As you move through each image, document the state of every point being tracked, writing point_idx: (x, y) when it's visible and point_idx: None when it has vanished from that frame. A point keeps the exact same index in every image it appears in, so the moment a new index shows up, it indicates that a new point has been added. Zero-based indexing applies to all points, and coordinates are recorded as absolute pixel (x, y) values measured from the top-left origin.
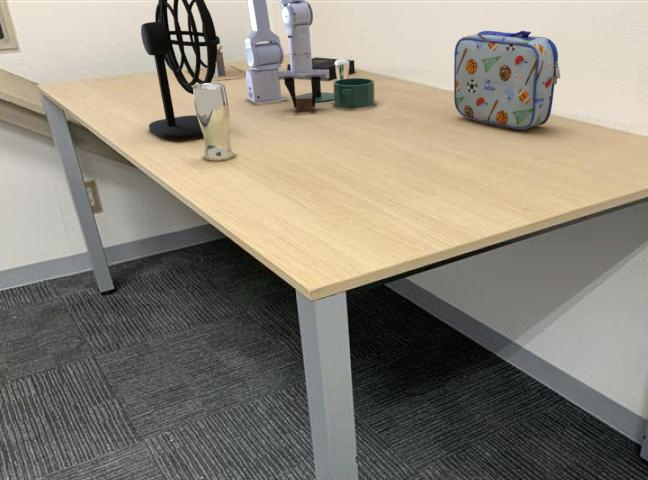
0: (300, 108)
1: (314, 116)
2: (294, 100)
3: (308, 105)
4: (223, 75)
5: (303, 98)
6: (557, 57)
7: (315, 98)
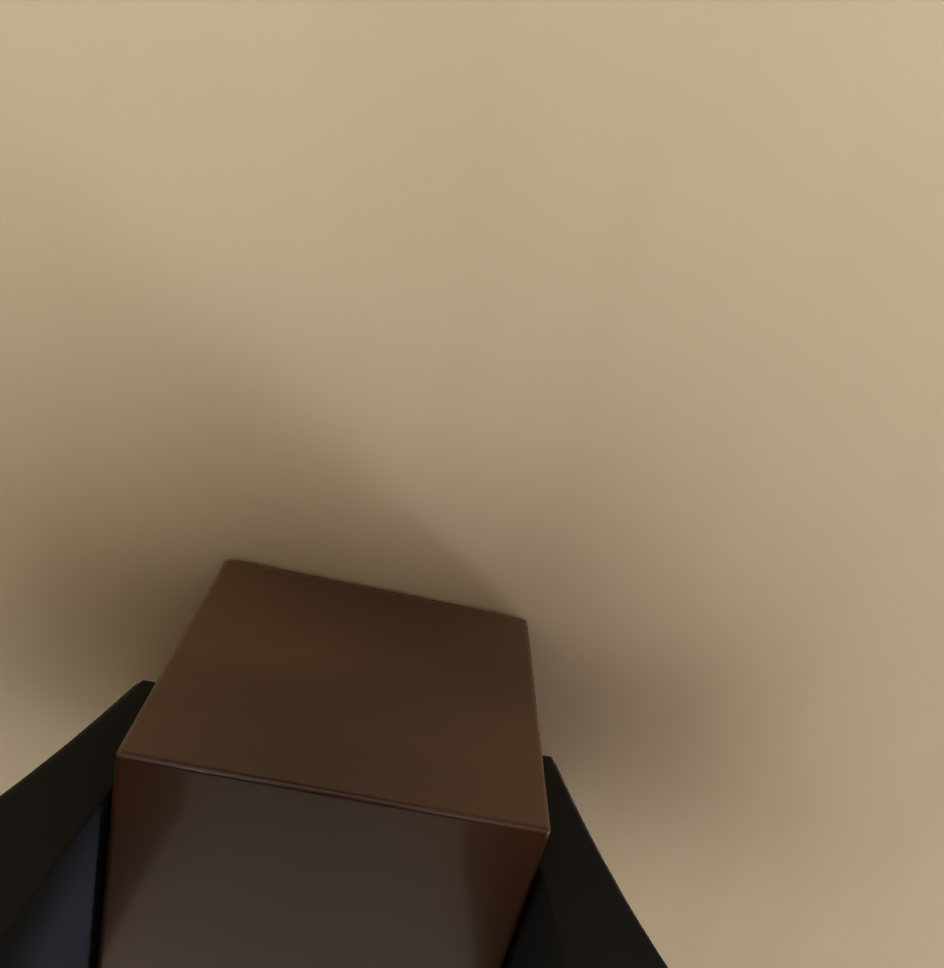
0: (450, 664)
1: (223, 323)
2: (561, 849)
3: (266, 660)
4: None
5: (341, 809)
6: None
7: (24, 779)
